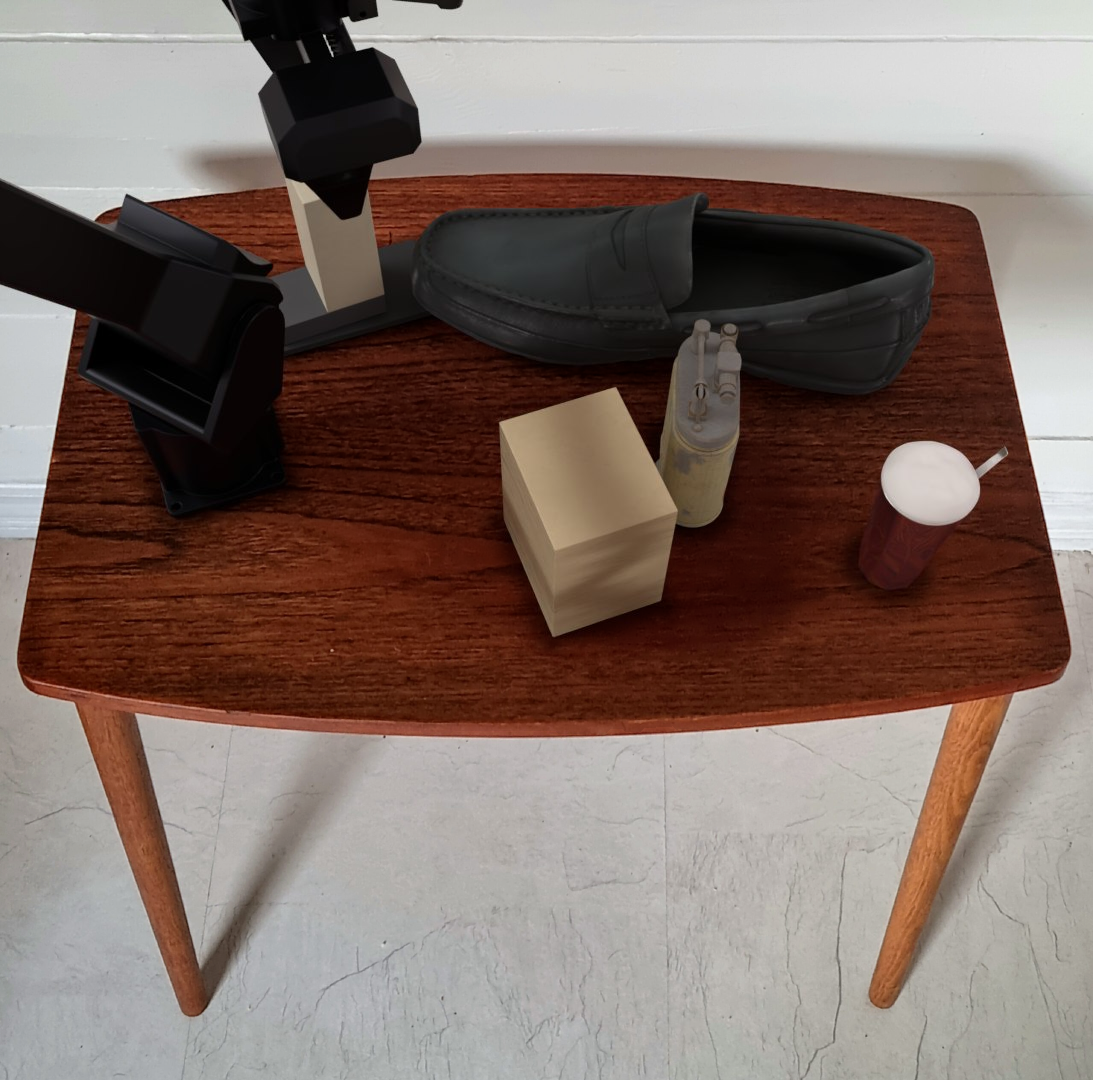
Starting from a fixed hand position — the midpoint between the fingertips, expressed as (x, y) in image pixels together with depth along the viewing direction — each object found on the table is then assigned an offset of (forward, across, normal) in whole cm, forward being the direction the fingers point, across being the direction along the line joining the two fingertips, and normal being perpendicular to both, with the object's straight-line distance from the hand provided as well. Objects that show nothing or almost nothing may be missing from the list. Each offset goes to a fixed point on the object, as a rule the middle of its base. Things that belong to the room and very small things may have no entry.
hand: (325, 155), depth 63 cm
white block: (+11, 0, +2) cm, 11 cm away
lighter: (+11, -18, -14) cm, 26 cm away
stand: (+11, -21, -6) cm, 25 cm away
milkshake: (+11, -28, -22) cm, 37 cm away
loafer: (+12, -8, -16) cm, 22 cm away
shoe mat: (+11, 0, +1) cm, 11 cm away
